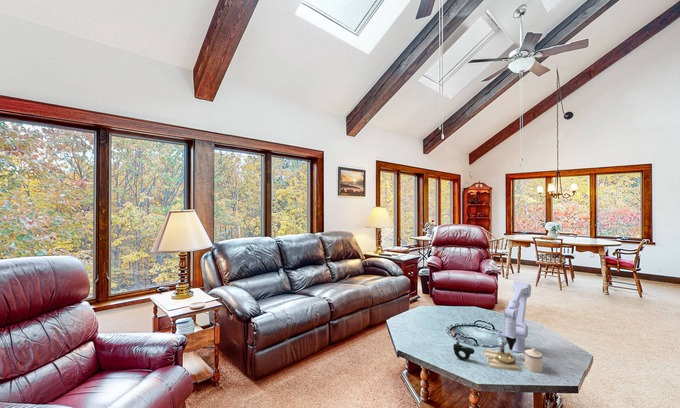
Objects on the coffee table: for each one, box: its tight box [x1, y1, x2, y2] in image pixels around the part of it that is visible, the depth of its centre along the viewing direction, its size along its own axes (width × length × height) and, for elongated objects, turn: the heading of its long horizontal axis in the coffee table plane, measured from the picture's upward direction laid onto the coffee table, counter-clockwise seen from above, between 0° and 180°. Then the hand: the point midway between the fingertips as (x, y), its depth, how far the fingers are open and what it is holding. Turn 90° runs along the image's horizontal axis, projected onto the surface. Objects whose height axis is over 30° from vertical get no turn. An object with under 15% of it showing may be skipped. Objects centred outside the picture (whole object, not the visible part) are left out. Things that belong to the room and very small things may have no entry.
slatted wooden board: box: [483, 349, 521, 372], centre depth 186 cm, size 19×16×2 cm
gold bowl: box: [497, 341, 515, 364], centre depth 185 cm, size 13×9×7 cm
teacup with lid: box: [518, 347, 544, 373], centre depth 178 cm, size 12×9×12 cm
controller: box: [452, 341, 475, 361], centre depth 188 cm, size 4×12×10 cm, turn 56°
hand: (510, 349), depth 189 cm, fingers closed
